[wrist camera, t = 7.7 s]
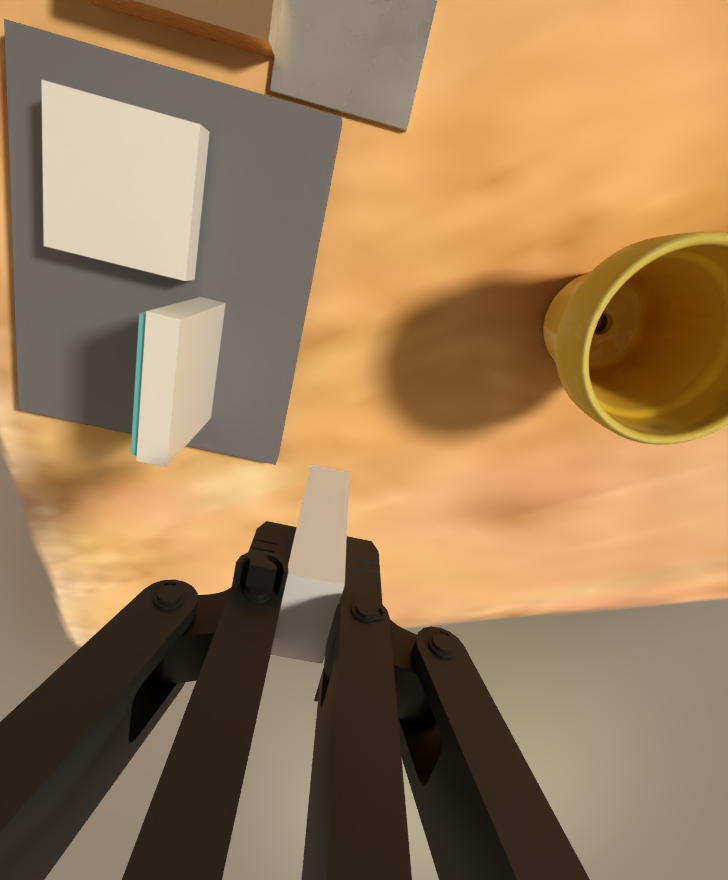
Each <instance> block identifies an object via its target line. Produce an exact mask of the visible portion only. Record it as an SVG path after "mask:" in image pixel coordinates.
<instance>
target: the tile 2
mask: <svg viewBox="0 0 728 880" xmlns="http://www.w3.org/2000/svg"><path fill="white" fill-rule="evenodd" d="M225 304H226V303H223V302H219V301H215V300H211V299H207V298H202V297H198V298H195V299H190V300H187V301H183V302H179V303H175V304H172V305H168V306H164V307H160V308H156V309H153V310H149V311H145V312H141V313H139V325H138V342H137V358H136V375H135V391H134V408H133V424H132V441H131V455H136V456H137V459H136V461H140V462H144V463H149V464H154V465H159V466H164V467H167V466H168V465H169V464H170V463H171V462H172V461H173V459H174V458H175V457H176V456H177V455H178V454H179V453H180V452H181V451H182V450H183V448H184V447H185V446H186V445H187V444H188V443H189V442H190V441H191V440H192V438H193V437H194V436H195V435H196V434H197V433H198V432H199V431H200V430H201V429H202V427H203V426H204V425H205V424H206V423H207V422H208V421H209V420H210V419H211V413H212V406H213V398H214V390H215V382H216V374H217V366H218V358H219V351H220V343H221V335H222V327H223V319H224V311H225Z"/></svg>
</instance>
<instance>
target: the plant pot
mask: <svg viewBox="0 0 728 880" xmlns="http://www.w3.org/2000/svg"><path fill="white" fill-rule="evenodd" d="M601 314H603V315H605V316H606V317H607V325H606V327H605V328H604V329H603V330H602V331H600V332H594V331H595V328H596V325H597V323H598V321H599V318H600V316H601ZM543 335H544V342H545V345H546V348H547V350H548V352H549V354H550V355H551V357H552V358H553V360H554V361H555V362H556V366H557V371H558V375H559V378H560V381H561V383H562V385H563V388H564V389H565V391H566V393H567V394H568V396H569V397H570V399H571V400H572V401H573V402H574V403H575V404H576V405H577V406H578V407H579V408H580V409H581V410H582V411H583V412H584V413H586V414H587V415H588V416H589V417H591V418H592V419H593V420H595V421H596V422H598V423H599V424H601V425H602V426H604V427H605V428H607V429H609V430H610V431H612V432H614V433H616V434H618V435H620V436H622V437H624V438H627V439H630V440H633V441H637V442H640V443H647V444H659V445H663V444H676V443H682V442H687V441H691V440H694V439H698V438H701V437H703V436H706V435H709V434H711V433H713V432H715V431H717V430H719V429H721V428H723V427H725V426H726V425H728V233H723V232H697V233H683V234H674V235H668V236H661V237H656V238H651V239H646V240H643V241H640V242H637V243H634V244H632V245H629V246H627V247H625V248H623V249H621V250H619V251H617V252H616V253H614V254H613V255H611V256H610V257H608V258H607V259H605V260H604V261H603V262H601V263H600V264H599V265H598V266H597V267H596V268H595V269H593V270H592V271H591V272H589V273H586V274H584V275H581V276H579V277H577V278H575V279H574V280H572V281H571V282H569V283H568V284H567V285H566V286H564V287H563V288H562V289H561V290H560V291H559V293H558V294H557V295H556V296H555V298H554V299H553V301H552V302H551V304H550V306H549V308H548V310H547V313H546V316H545V320H544V326H543Z"/></svg>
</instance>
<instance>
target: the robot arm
mask: <svg viewBox="0 0 728 880" xmlns="http://www.w3.org/2000/svg"><path fill="white" fill-rule="evenodd" d="M348 488H349V472H346V471H341V470H337V469H332V468H327V467H323V466H318V465H314V464H311V466H310V471H309V475H308V479H307V484H306V488H305V493H304V497H303V502H302V506H301V510H300V515H299V519H298V524H297V527H293V526H288V525H283V524H278V523H273V522H268V521H266V522H265V523H264V524H262V525H261V526H260V527H259V528H257V530H256V533H255V536H254V538H253V541H252V544H251V546H250V549H249V552H248V553H246V554H244V555H242V556H240V558H239V559H238V560H237V562H236V566H235V572H234V578H233V583H232V587H231V588H229V589H228V590H226V591H223V592H220V593H216V594H209V595H198V593H197V592H196V590H195V589H194V587H193V586H191V585H189V584H188V583H186V582H183V581H178V580H163V581H160V582H156V583H153V584H151V585H150V586H148V587H147V588H145V589H144V590H143V591H142V592H141V593H140V594H139V595H137V596H136V597H135V598H134V599H133V600H132V601H131V602H130V603H129V604H128V605H127V606H126V607H124V608H123V609H122V610H121V611H120V612H119V613H118V614H117V615H116V616H115V617H114V618H112V619H111V620H110V621H109V622H108V623H107V624H106V625H105V626H104V627H103V628H102V629H101V630H99V631H98V632H97V633H96V634H95V635H94V636H93V637H92V638H91V639H90V640H89V641H88V642H86V643H85V644H84V645H83V646H82V647H81V648H80V649H79V650H78V651H77V652H76V653H75V654H73V656H71V657H70V658H69V659H68V660H67V661H66V662H65V663H64V664H63V665H62V666H60V667H59V668H58V669H57V670H56V671H55V672H54V673H53V674H52V675H51V676H50V677H49V678H48V679H46V680H45V681H44V682H43V683H42V684H41V685H40V686H39V687H38V688H37V689H36V690H34V692H32V693H31V694H30V695H29V696H28V697H27V698H26V699H25V700H24V701H23V702H21V703H20V704H19V705H18V706H17V707H16V708H15V709H14V710H13V711H12V712H11V713H10V714H8V715H7V716H6V717H5V718H4V719H3V720H2V721H1V722H0V880H44V879H45V878H46V877H47V875H48V874H49V872H50V871H51V869H52V868H53V867H54V865H55V864H56V863H57V861H58V860H59V858H60V857H61V856H62V854H63V853H64V852H65V850H66V849H67V847H68V846H69V844H70V843H71V842H72V840H73V839H74V838H75V836H76V835H77V833H78V832H79V831H80V829H81V828H82V827H83V825H84V824H85V822H86V821H87V820H88V818H89V817H90V815H91V814H92V813H93V811H94V810H95V809H96V807H97V806H98V804H99V803H100V801H101V800H102V799H103V797H104V796H105V795H106V793H107V792H108V790H109V789H110V788H111V786H112V785H113V783H114V782H115V781H116V779H117V778H118V776H119V775H120V774H121V772H122V771H123V770H124V768H125V767H126V765H127V764H128V763H129V761H130V760H131V758H132V757H133V756H134V754H135V753H136V752H137V750H138V749H139V747H140V746H141V745H142V743H143V742H144V741H145V739H146V738H147V736H148V735H149V734H150V732H151V731H152V729H153V728H154V727H155V725H156V724H157V722H158V721H159V720H160V718H161V717H162V715H163V714H164V713H165V711H166V710H167V709H168V707H169V706H170V704H171V703H172V702H173V700H174V699H175V698H176V696H177V695H178V693H179V692H180V691H181V689H182V688H183V686H184V684H185V682H189V681H196V684H195V687H194V689H193V692H192V695H191V698H190V700H189V703H188V705H187V708H186V711H185V713H184V716H183V719H182V721H181V724H180V727H179V729H178V732H177V735H176V737H175V740H174V743H173V745H172V748H171V751H170V753H169V756H168V759H167V761H166V764H165V766H164V769H163V772H162V774H161V777H160V780H159V782H158V785H157V788H156V790H155V793H154V796H153V798H152V801H151V804H150V806H149V809H148V812H147V814H146V817H145V820H144V822H143V825H142V827H141V830H140V833H139V836H138V838H137V841H136V843H135V846H134V849H133V851H132V854H131V857H130V859H129V862H128V865H127V867H126V870H125V873H124V875H123V878H122V880H222V876H223V871H224V867H225V862H226V857H227V853H228V849H229V844H230V839H231V835H232V830H233V825H234V821H235V816H236V812H237V807H238V802H239V798H240V793H241V788H242V784H243V779H244V775H245V770H246V765H247V761H248V756H249V751H250V747H251V742H252V737H253V733H254V728H255V724H256V718H257V714H258V710H259V705H260V700H261V696H262V691H263V686H264V682H265V677H266V672H267V668H268V663H269V659H270V655H276V656H282V657H288V658H293V659H299V660H305V661H310V662H316V663H323V659H324V656H325V662H324V668H323V672H322V675H321V679H320V683H319V686H318V689H317V692H316V696H315V699H314V701H318V707H317V719H316V729H315V740H314V751H313V761H312V773H311V783H310V794H309V805H308V816H307V828H306V838H305V849H304V860H303V871H302V880H412V876H411V864H410V854H409V841H408V829H407V817H406V805H405V794H404V782H403V770H402V760H403V764H404V767H405V770H406V773H407V777H408V780H409V783H410V786H411V790H412V793H413V796H414V799H415V802H416V806H417V809H418V812H419V816H420V819H421V822H422V825H423V829H424V832H425V835H426V838H427V842H428V845H429V848H430V851H431V855H432V858H433V861H434V864H435V868H436V871H437V874H438V877H439V880H590V879H589V877H588V876H587V874H586V872H585V870H584V868H583V866H582V864H581V863H580V861H579V859H578V857H577V855H576V853H575V851H574V850H573V848H572V846H571V844H570V842H569V840H568V838H567V837H566V835H565V833H564V831H563V829H562V827H561V826H560V824H559V822H558V820H557V818H556V816H555V814H554V812H553V811H552V809H551V807H550V805H549V803H548V801H547V799H546V798H545V796H544V794H543V792H542V790H541V789H540V786H539V784H538V783H537V781H536V779H535V777H534V775H533V773H532V771H531V770H530V768H529V766H528V764H527V762H526V760H525V759H524V757H523V755H522V753H521V751H520V749H519V747H518V745H517V744H516V742H515V740H514V738H513V736H512V734H511V732H510V730H509V729H508V727H507V725H506V723H505V721H504V720H503V718H502V716H501V714H500V712H499V710H498V708H497V706H496V705H495V703H494V701H493V699H492V697H491V695H490V693H489V692H488V690H487V688H486V686H485V684H484V682H483V680H482V678H481V677H480V675H479V673H478V671H477V669H476V667H475V666H474V664H473V662H472V660H471V658H470V656H469V654H468V652H467V651H466V649H465V647H464V645H463V644H462V643H461V642H460V640H459V639H458V638H457V637H456V636H455V635H453V634H452V633H451V632H449V631H447V630H444V629H442V628H438V627H427V628H423V629H422V630H421V631H419V632H418V635H416V634H414V633H411V632H409V631H407V630H405V629H403V628H401V627H399V626H398V625H396V624H395V623H394V622H392V621H391V620H390V618H389V614H388V611H387V609H386V608H385V607H384V606H383V605H382V593H381V579H380V565H379V552H378V550H377V549H376V547H375V546H374V544H373V542H372V541H367V540H362V539H357V538H352V537H347V513H348ZM401 757H402V758H401Z"/></svg>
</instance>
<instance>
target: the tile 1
mask: <svg viewBox="0 0 728 880" xmlns="http://www.w3.org/2000/svg"><path fill="white" fill-rule="evenodd" d="M41 83H42V156H43V229H44V246H46V247H50V248H54V249H58V250H62V251H66V252H70V253H74V254H78V255H82V256H86V257H90V258H94V259H98V260H102V261H106V262H110V263H114V264H118V265H122V266H126V267H130V268H134V269H138V270H142V271H146V272H151V273H155V274H159V275H163V276H167V277H171V278H175V279H179V280H183V281H190V280H195V270H196V261H197V251H198V241H199V231H200V221H201V211H202V201H203V192H204V182H205V172H206V162H207V152H208V142H209V131H208V130H207V129H205V128H204V127H203V126H202V125H201V124H197V123H194V122H190V121H187V120H183V119H180V118H176V117H173V116H169V115H165V114H162V113H158V112H155V111H151V110H148V109H144V108H141V107H137V106H134V105H130V104H126V103H123V102H119V101H116V100H112V99H109V98H105V97H102V96H98V95H95V94H91V93H87V92H84V91H80V90H77V89H73V88H70V87H66V86H63V85H59V84H56V83H52V82H48V81H45V80H41Z"/></svg>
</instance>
